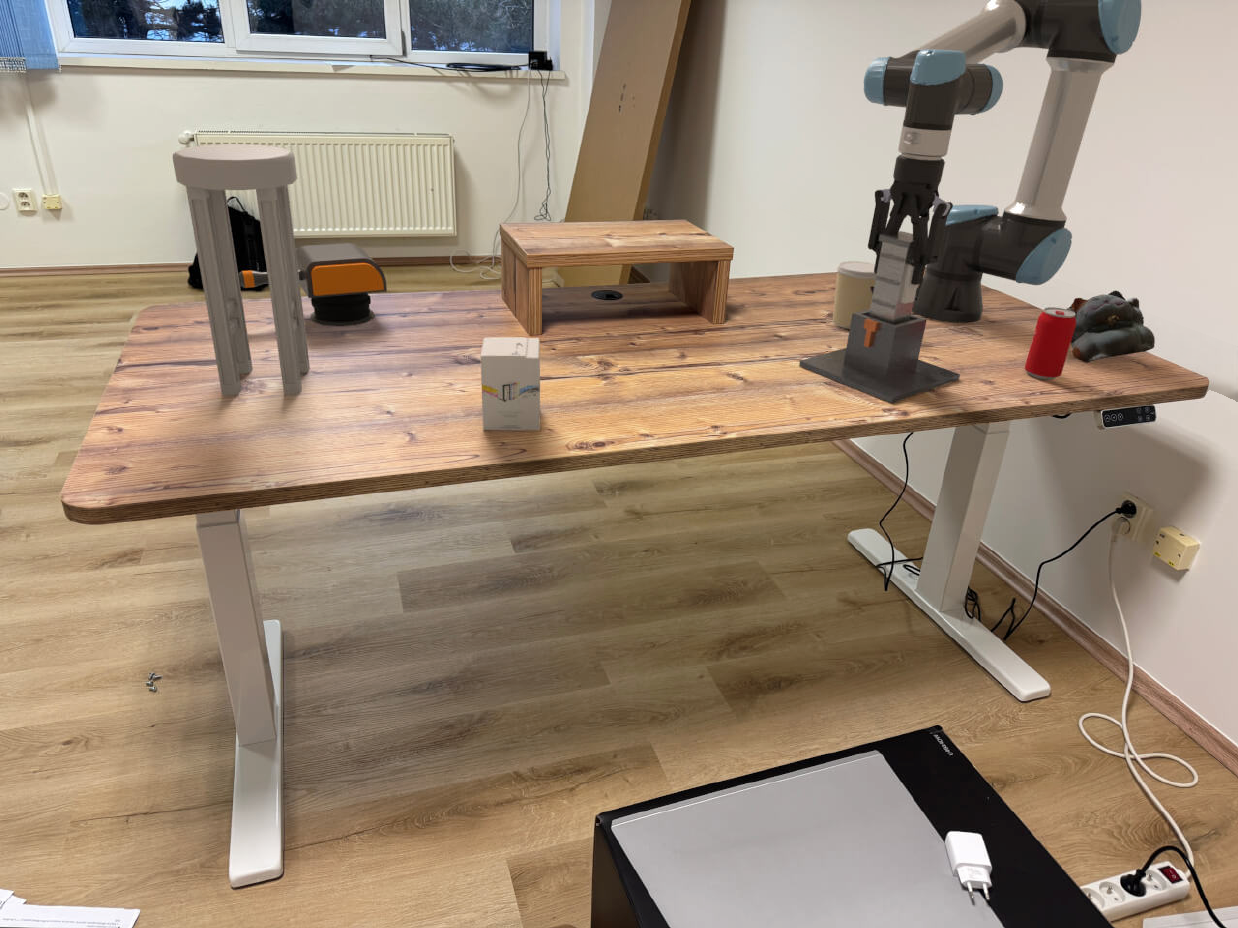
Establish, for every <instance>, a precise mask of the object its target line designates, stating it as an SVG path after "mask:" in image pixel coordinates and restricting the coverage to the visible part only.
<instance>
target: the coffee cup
mask: <svg viewBox="0 0 1238 928" xmlns="http://www.w3.org/2000/svg"><path fill="white" fill-rule="evenodd" d="M874 267H875V263H871V262H865V261H859V260H857V261H856V260H853V261H851V260H850V261H843V262H840V263H839V265H838V266H837V268H836V271H837V274H836V282H835V290H834V302H833V312H832V322H833V323H832V324H834V325H835V326H836V327H840V328H843V329H849V330H850V325H851V320H852V314H853V313H856V312H860V311H864V310H868V309H870V307H871V301H872V296H873V291H874V285H875V280H876V275H877V274H876V273H874Z"/></svg>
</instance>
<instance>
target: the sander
mask: <svg viewBox="0 0 1238 928" xmlns="http://www.w3.org/2000/svg"><path fill="white" fill-rule="evenodd" d="M295 250H296V258H297V266H298V274H299V282H300V288H301V289H302V290H303V292H304V293H305V295H306V296H307V298H308V299H310V301H311V303H310V304H311V306H312V308H313V312H312V313H311V314H310V316H309V317H310V321H312V323H315V324H317V325H320V326H325V327H326V326H327V327H338V328H339V327H351V326H359V325H362V324H366V323H368V322H370V321H372V320H374V318H375V312H374V311H373V310H372V309H370V304H372V301H371V300H372V299H371V295H369V294H373V293H385V292H387V291H388V290H387V288H388V287H387V280H386V276H385V274H384V271H383V269H382V268H381V266H379V264H377V263H376V262H375V260H374V259H373V258H372V257H371V256H370V255H369V254H368V253H367V252H366V251H365V250H364V249H363V248H362V247H361V246H360V245H357V244H355V243H352V242H345V243H329V244H328V243H327V244H314V245H311V244H310V245H301V246H300V247H297V249H295ZM238 276H239V283H240V287H242V288H245V289H247V288H256V287H258V286H263V285H264V284H265V285H267V284H268V285H269V281H268V274H267V271H262V272H261V271H257V270H251V269H250V270H241V271H240V272H238Z"/></svg>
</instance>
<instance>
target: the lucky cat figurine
mask: <svg viewBox="0 0 1238 928" xmlns="http://www.w3.org/2000/svg"><path fill="white" fill-rule="evenodd" d="M1066 309H1067V310H1070V311H1073V312H1074V313H1075V319H1076V326H1075V330H1074V333H1073V336H1072V340H1071V343H1070V346H1071V348H1072V349H1071V355H1072V356H1073V357H1074V359H1076V360H1079V361H1081V362H1083V363H1086V364H1088V363H1090V362H1094V361H1098V360H1103V359H1109V358H1112V357H1113V358H1114V357H1118V356H1119V357H1120V356H1123V355H1125V356H1127V355H1132V354H1139V353H1145V352H1148V351H1149V350H1150V351H1151V350H1152V349H1154V348H1155V344H1156V339H1155V334H1154V333H1153V332H1152V330H1151V329H1150V328H1149V327H1148V326H1145V325H1144V323H1145V317H1144V315H1143V312H1142V310H1141V309H1140V300H1139V299H1138V297H1131V298H1128V299H1125V297H1124V296H1123V295H1122V293H1121V292H1120V291H1119V290H1113V291H1110V292H1109V293H1108V294H1099V295H1096V296H1092V297H1091V298H1089V299H1085V298H1082V297H1075V298H1074V300H1073V302H1072V304H1071V305H1070V306H1069V307H1067V308H1066Z"/></svg>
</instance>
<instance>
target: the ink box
mask: <svg viewBox="0 0 1238 928" xmlns="http://www.w3.org/2000/svg"><path fill="white" fill-rule="evenodd" d="M540 354H541V353H540V338H539V337H532V338H531V337H528V338H527V337H524V336H523V337H520V336H510V337H509V336H508V337H507V336H506V337H484V338H483V341H482V346H481V351H480V377H481V382H480V383H481V384H480V385H481V405H482V407H481V408H482V410H481V411H482V430H483V431H540V428H541V427H540V423H541V422H540V421H541V420H540V417H541V416H540V415H541V414H540V413H541V363H540V362H541V359H540Z"/></svg>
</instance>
